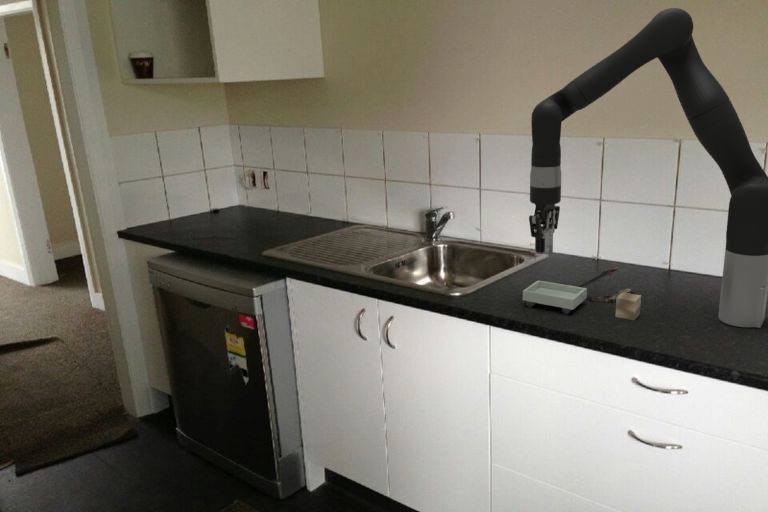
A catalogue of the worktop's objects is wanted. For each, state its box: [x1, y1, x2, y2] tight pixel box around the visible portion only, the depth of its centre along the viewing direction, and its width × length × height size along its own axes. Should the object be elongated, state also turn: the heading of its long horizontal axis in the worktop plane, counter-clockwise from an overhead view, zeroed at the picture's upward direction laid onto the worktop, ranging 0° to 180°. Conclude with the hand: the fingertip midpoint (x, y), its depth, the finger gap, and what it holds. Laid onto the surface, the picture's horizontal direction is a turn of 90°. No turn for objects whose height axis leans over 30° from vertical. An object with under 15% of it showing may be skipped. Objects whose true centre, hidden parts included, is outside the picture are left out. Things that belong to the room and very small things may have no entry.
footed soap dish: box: [522, 279, 588, 315], centre depth 166 cm, size 13×9×4 cm
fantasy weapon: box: [577, 266, 635, 304], centre depth 178 cm, size 29×2×15 cm
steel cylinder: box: [534, 227, 554, 255], centre depth 164 cm, size 4×4×6 cm
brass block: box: [615, 292, 642, 321], centre depth 157 cm, size 4×4×5 cm
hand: (544, 249), depth 164 cm, fingers closed on steel cylinder, 4 cm apart
